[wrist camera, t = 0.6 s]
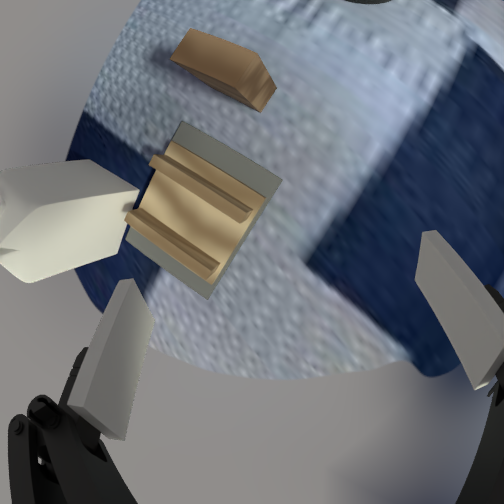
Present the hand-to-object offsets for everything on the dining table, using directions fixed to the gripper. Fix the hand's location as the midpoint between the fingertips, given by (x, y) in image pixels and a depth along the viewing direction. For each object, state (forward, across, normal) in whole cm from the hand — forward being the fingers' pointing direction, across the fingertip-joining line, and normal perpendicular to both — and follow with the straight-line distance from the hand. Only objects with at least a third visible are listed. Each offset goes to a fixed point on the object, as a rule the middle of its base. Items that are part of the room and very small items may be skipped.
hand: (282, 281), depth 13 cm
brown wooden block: (+31, -1, +7) cm, 32 cm away
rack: (+27, -10, -8) cm, 30 cm away
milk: (+31, -27, -5) cm, 41 cm away
